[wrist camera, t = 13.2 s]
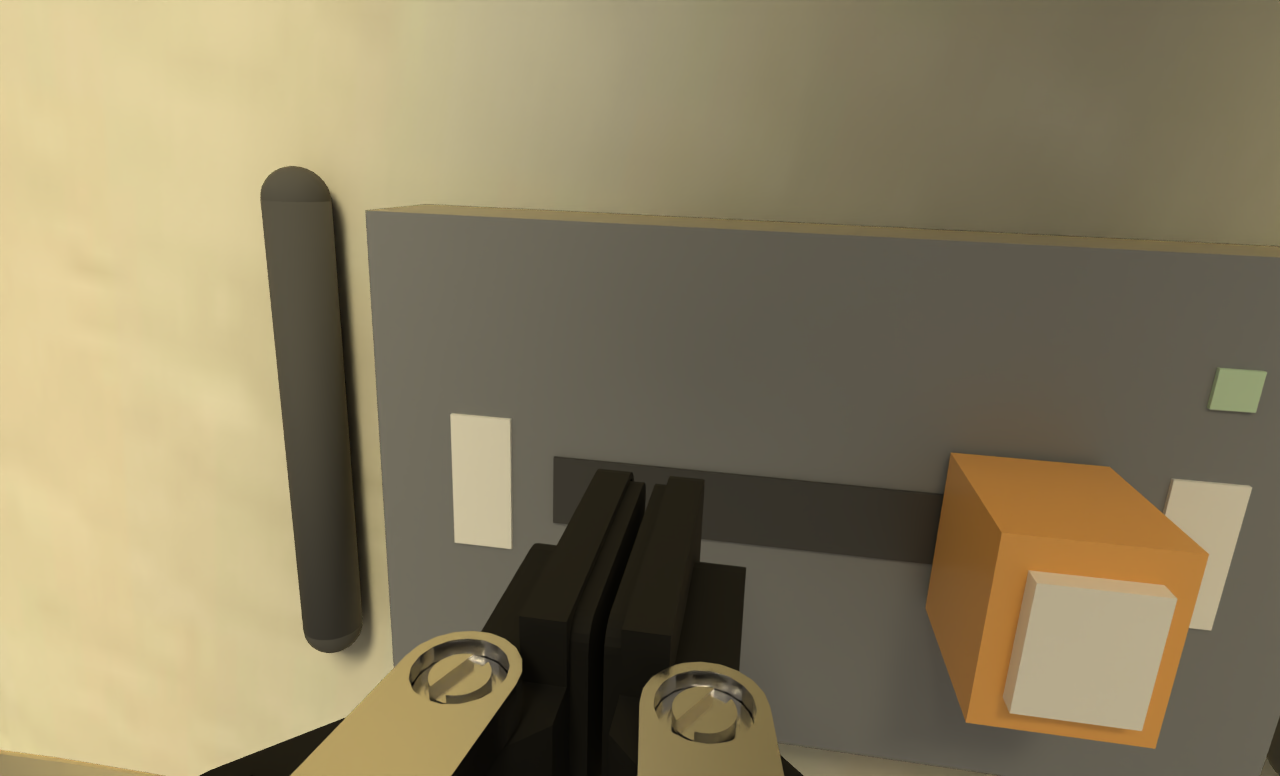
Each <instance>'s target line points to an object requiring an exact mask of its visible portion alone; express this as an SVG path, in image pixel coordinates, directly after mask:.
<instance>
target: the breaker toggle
mask: <svg viewBox="0 0 1280 776" xmlns="http://www.w3.org/2000/svg"><path fill="white" fill-rule="evenodd" d="M1208 557H1209V554H1208V553H1207V552H1206V551H1205V550H1204V549H1203V548H1202V547H1200V546H1199V545H1198V544H1197V543H1196V542H1195V541H1194V540H1192V539H1191V538H1190V537H1189V536H1188V535H1187V534H1186V533H1185V532H1183V531H1182V530H1181V529H1180V528H1179V527H1178V526H1177V525H1175V524H1174V523H1173V522H1172V521H1171V520H1170V519H1169V518H1167V517H1166V516H1165V515H1164V514H1163V513H1162V512H1161V511H1159V510H1158V509H1157V508H1156V507H1155V506H1154V505H1153V504H1151V503H1150V502H1149V501H1148V500H1147V499H1146V498H1145V497H1144V496H1142V495H1141V494H1140V493H1139V492H1138V491H1137V490H1136V489H1134V488H1133V487H1132V486H1131V485H1130V484H1129V483H1128V482H1126V481H1125V480H1124V479H1123V478H1122V477H1121V476H1120V475H1118V474H1117V473H1116V472H1115V471H1114V470H1113V469H1112V468H1110V467H1107V466H1096V465H1085V464H1074V463H1063V462H1051V461H1040V460H1029V459H1018V458H1007V457H996V456H985V455H973V454H962V453H951V454H950V460H949V466H948V472H947V478H946V485H945V491H944V497H943V503H942V509H941V515H940V521H939V527H938V533H937V540H936V546H935V552H934V558H933V564H932V570H931V576H930V582H929V589H928V595H927V601H926V607H925V609H926V611H927V614H928V617H929V620H930V623H931V625H932V628H933V631H934V634H935V637H936V640H937V642H938V645H939V648H940V651H941V654H942V657H943V659H944V662H945V665H946V668H947V671H948V674H949V676H950V679H951V682H952V685H953V688H954V690H955V693H956V696H957V699H958V702H959V705H960V707H961V710H962V713H963V716H964V719H965V722H966V723H972V724H979V725H987V726H994V727H1001V728H1008V729H1016V730H1023V731H1030V732H1037V733H1045V734H1052V735H1059V736H1066V737H1074V738H1081V739H1088V740H1095V741H1103V742H1110V743H1117V744H1124V745H1132V746H1139V747H1146V748H1153V749H1155V748H1156V744H1157V741H1158V737H1159V734H1160V730H1161V726H1162V723H1163V719H1164V716H1165V712H1166V708H1167V705H1168V701H1169V698H1170V694H1171V690H1172V687H1173V683H1174V679H1175V676H1176V672H1177V669H1178V665H1179V661H1180V658H1181V654H1182V651H1183V647H1184V643H1185V640H1186V636H1187V633H1188V629H1189V625H1190V622H1191V618H1192V614H1193V611H1194V607H1195V604H1196V600H1197V596H1198V593H1199V589H1200V586H1201V582H1202V578H1203V575H1204V571H1205V568H1206V564H1207V560H1208Z"/></svg>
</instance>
